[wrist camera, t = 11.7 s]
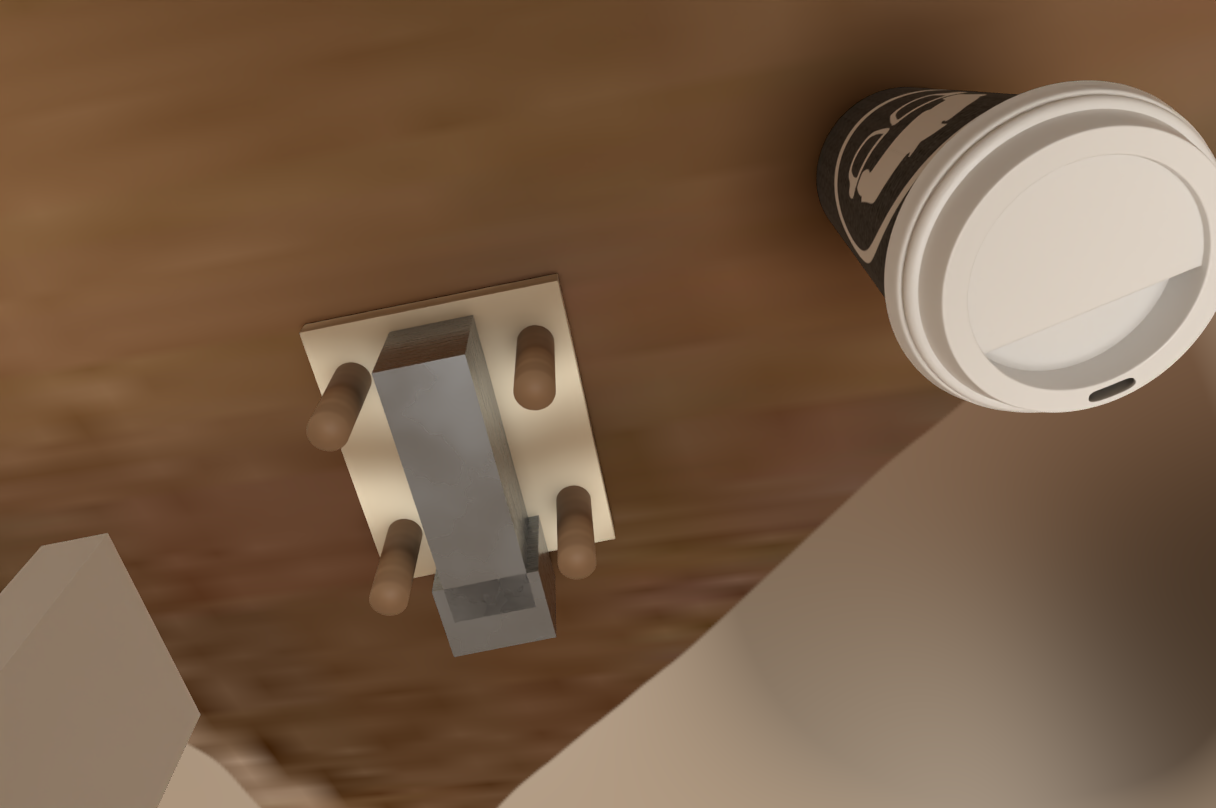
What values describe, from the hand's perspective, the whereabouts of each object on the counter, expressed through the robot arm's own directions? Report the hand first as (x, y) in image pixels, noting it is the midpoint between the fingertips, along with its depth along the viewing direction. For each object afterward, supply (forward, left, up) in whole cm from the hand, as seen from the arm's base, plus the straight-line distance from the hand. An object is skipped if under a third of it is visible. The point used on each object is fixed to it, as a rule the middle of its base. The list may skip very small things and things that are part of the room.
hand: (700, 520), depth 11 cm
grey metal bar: (+12, -8, -28) cm, 31 cm away
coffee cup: (+4, +12, -29) cm, 31 cm away
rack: (+12, -8, -29) cm, 32 cm away
